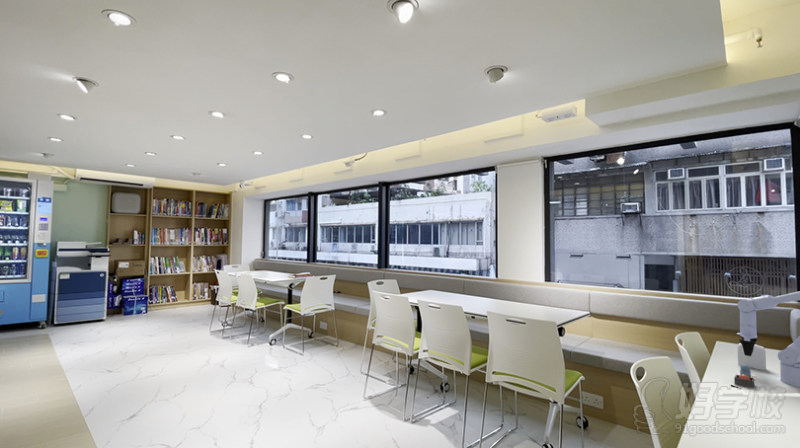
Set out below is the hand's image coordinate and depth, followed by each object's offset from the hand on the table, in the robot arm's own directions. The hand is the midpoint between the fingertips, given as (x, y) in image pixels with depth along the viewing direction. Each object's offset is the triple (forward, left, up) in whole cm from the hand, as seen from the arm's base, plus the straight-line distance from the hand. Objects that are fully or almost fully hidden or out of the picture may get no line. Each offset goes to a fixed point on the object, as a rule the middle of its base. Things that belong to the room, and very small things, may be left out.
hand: (748, 354), depth 176 cm
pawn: (-12, +14, -8) cm, 21 cm away
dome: (-17, +19, -8) cm, 27 cm away
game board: (-11, +12, -9) cm, 19 cm away
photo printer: (+8, -10, -10) cm, 16 cm away
